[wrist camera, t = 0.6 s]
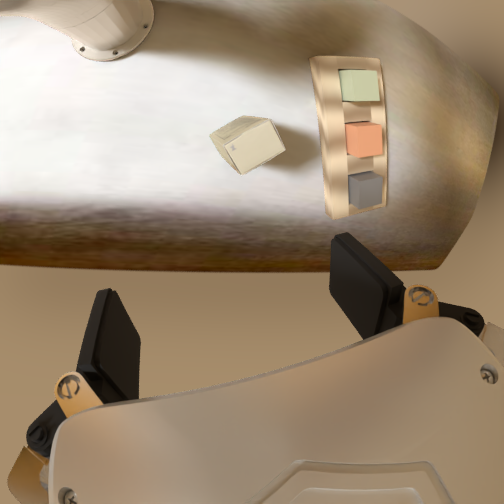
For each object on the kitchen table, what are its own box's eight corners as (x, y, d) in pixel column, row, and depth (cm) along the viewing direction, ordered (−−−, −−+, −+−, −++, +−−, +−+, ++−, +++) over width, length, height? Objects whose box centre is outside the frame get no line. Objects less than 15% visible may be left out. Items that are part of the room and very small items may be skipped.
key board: (309, 58, 35) (317, 55, 32) (369, 59, 36) (379, 58, 34) (325, 213, 50) (333, 220, 47) (376, 200, 51) (385, 206, 49)
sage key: (337, 70, 35) (350, 69, 31) (362, 71, 35) (376, 70, 32) (341, 100, 37) (354, 101, 34) (365, 99, 38) (379, 100, 35)
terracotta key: (343, 123, 39) (356, 126, 36) (367, 121, 40) (381, 124, 37) (345, 152, 42) (358, 157, 39) (369, 149, 43) (382, 154, 40)
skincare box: (222, 158, 40) (238, 179, 30) (208, 134, 38) (219, 146, 28) (258, 137, 40) (288, 151, 30) (245, 113, 38) (271, 117, 27)
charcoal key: (346, 174, 44) (359, 181, 41) (369, 170, 45) (382, 176, 42) (347, 201, 47) (359, 209, 44) (369, 195, 48) (381, 203, 44)
